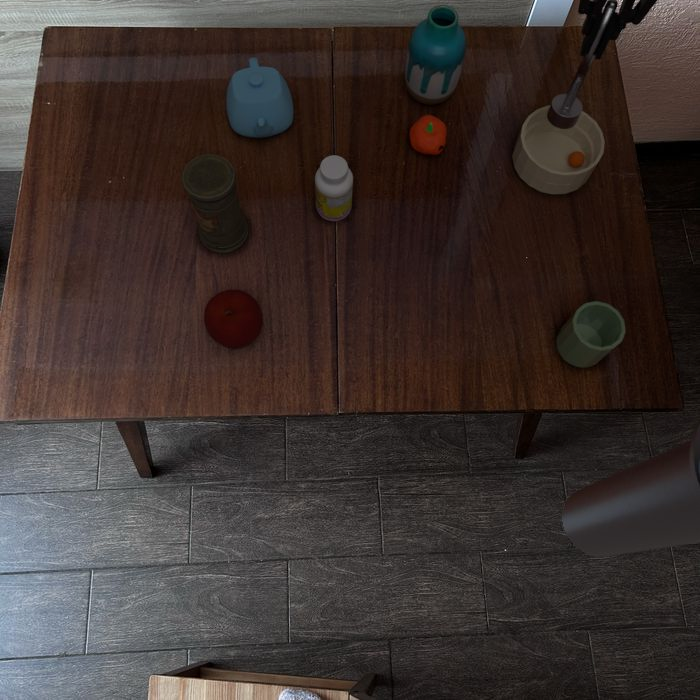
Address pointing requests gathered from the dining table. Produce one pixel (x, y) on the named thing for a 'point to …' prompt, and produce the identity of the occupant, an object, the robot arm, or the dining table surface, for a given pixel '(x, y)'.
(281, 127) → the teapot
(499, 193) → the dining table surface
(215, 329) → the apple
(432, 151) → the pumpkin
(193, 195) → the container
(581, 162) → the ball
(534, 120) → the bowl
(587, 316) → the cup
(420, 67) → the vase
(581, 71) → the ladle
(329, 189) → the supplement bottle
